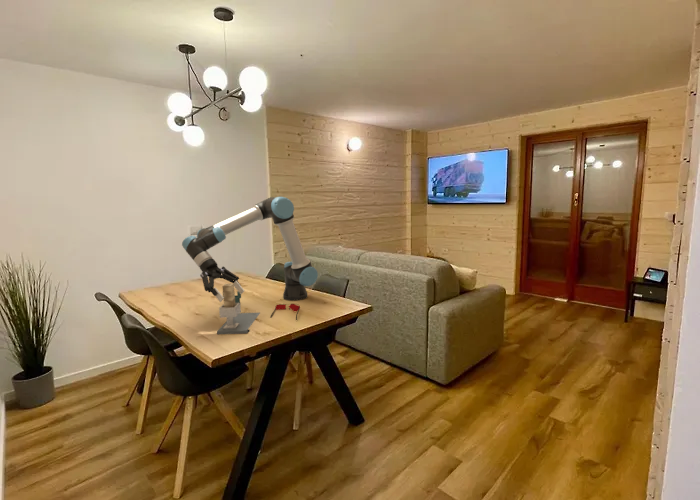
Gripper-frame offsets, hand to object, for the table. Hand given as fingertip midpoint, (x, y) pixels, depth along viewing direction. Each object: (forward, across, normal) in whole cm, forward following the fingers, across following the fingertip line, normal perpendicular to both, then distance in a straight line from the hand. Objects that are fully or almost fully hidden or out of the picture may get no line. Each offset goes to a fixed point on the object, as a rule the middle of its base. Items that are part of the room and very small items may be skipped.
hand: (232, 296), depth 168 cm
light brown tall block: (+4, 0, -8) cm, 9 cm away
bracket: (-9, -32, -34) cm, 47 cm away
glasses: (+20, -26, -4) cm, 33 cm away
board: (+9, -8, -14) cm, 19 cm away
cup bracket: (+9, 0, -12) cm, 15 cm away
